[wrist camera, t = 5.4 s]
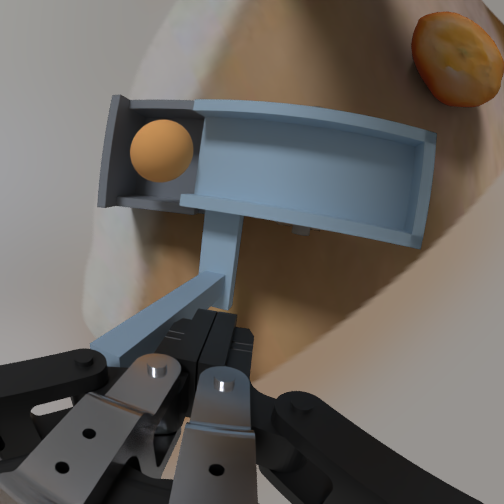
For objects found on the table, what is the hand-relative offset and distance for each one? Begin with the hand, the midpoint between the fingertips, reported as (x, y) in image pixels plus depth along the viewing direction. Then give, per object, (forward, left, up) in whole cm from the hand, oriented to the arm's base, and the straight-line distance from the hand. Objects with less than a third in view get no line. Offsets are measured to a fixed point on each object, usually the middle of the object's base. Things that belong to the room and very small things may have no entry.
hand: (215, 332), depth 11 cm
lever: (-4, +3, -6) cm, 8 cm away
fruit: (-19, +14, -12) cm, 26 cm away
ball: (-7, -5, -6) cm, 10 cm away
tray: (-7, -6, -11) cm, 15 cm away
